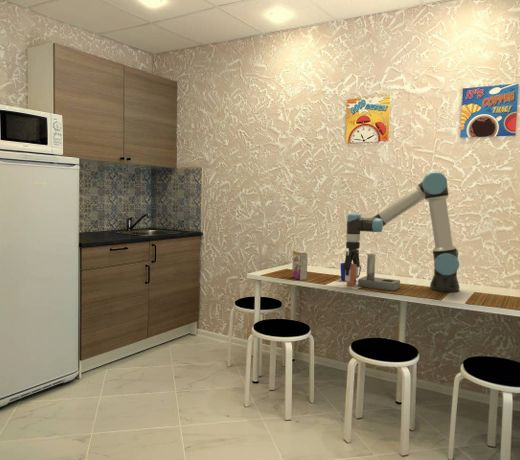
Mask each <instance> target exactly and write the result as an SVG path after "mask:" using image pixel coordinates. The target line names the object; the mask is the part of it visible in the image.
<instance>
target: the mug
mask: <svg viewBox="0 0 520 460" xmlns="http://www.w3.org/2000/svg"><path fill="white" fill-rule="evenodd" d="M344 264H345V262H341V263H340V264H339V265H340V279H341V280H342V281H344V282H346V281H345V269H344ZM351 264H353V262H352V263H351ZM361 268H362V266H361V265H360V267H359V269H358V278H359V277H360V275H361V271H362V269H361Z"/></svg>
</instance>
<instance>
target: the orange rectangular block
mask: <svg viewBox="0 0 520 460" xmlns="http://www.w3.org/2000/svg"><path fill="white" fill-rule="evenodd" d="M356 269H357V264H353V263H352V264H351V267H350V270H351V271H350V282H349V281H346V286H348V287H355V286H356V285H357V278H356Z"/></svg>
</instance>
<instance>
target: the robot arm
mask: <svg viewBox="0 0 520 460" xmlns="http://www.w3.org/2000/svg"><path fill="white" fill-rule="evenodd" d="M449 197H450V196H449V189H448V179H447V177H446V176H445V174H443V173H442V172H440V171H431V172H428V173H426V175H425V176H424V177H423V179H422V180H421V182H420V183H418V184H417V185H416V188H415V189H413V190H411V191H410V192H409V193H407V194H405V195H404V196H402V197H401V198H400V199H398V200H396V201H395V202H394V203H392V204H391V205H389V206H388V207H386V208H384V209H383V210H381V211H380V212H379V213H377V214H375V216H373V217H371V218H370V217H362V215H361V214H359V213H348V215H347V218H346V235H345V237H346V243H345V248H347V249H348V251H347V250H346V251H345V258H344V263H345V264H344V269H345V281H344V282H347V281H349V282H350V271H351V270H350V267H351V263H352V264H357V269H356V279H359V277H358V275H359V268H360V266H361V265H360V262H361V261H360V254H359V253H360V252H359V249H360V247H361V246H360V244H361V242H360V241H361V232H366V233H367V232H368V233H369V232H371V233H381V232H383V229H384V226H386V225H387V224H388V223H390V222H392V221H394V219H396V218H398V217H399V216H401V215H402V214H404V213H405V212H407V211H409V210H410V209H411V208H414V207H415V206H416V205H418V204H419V203H420V202H422V201H424V200H425V201H426V202H427V203H428V207H429V213H430V220H431V227H432V232H433V233H432V234H433V240H434V241H433V242H434V248H433V249H432V254H433V255H432V257H433V261H434V262H433V267H434V271H433V277H432V279H431V281H430V284H429V289H431V290H434V291H437V292H444V293H457V292H460V284H459V280H458V277H457V276H458V275H457V274H458V270H459V267H460V262H459V259H458V258H459V249H457V247H456V246H454V244H453V237H452V230H451V222H450V217H449V211H448V204H447V199H448V198H449Z"/></svg>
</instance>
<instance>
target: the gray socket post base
mask: <svg viewBox="0 0 520 460" xmlns="http://www.w3.org/2000/svg"><path fill="white" fill-rule="evenodd" d="M366 257H367V259H366V275H365V276H363V277H360V278H357V282H358V283H357V287H360V288H361V287H363V288H369V289H375V290H376V289H378V290H385V291H393V292H394V291H396V290H397V289H399V288H400V287H401V286H400V285H401V280H400V279H393V278H392V279H390V278H386V277H385V278H383V277H376V275H375V272H376V254H375V253H367V256H366Z"/></svg>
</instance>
